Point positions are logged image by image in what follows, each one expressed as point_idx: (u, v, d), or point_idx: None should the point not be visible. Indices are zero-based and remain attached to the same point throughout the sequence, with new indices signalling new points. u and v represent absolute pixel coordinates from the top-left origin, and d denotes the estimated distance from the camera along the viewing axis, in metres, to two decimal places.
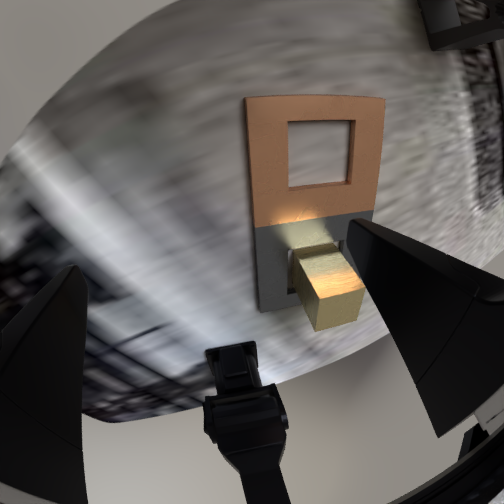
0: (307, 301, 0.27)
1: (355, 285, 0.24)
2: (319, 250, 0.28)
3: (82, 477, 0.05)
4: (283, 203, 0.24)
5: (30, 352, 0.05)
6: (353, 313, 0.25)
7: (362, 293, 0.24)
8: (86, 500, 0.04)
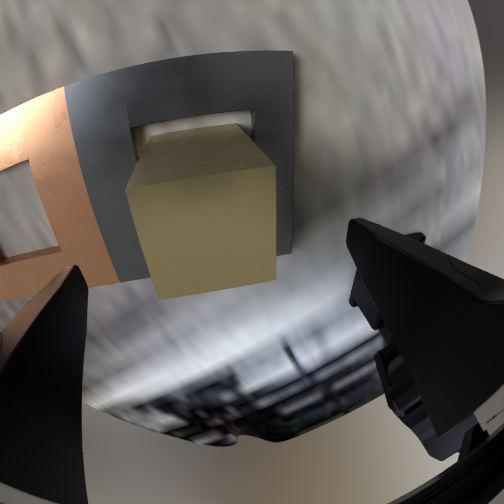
0: None
1: None
2: None
3: (82, 477, 0.05)
4: (78, 254, 0.15)
5: (30, 352, 0.05)
6: (234, 191, 0.08)
7: (148, 191, 0.08)
8: (86, 500, 0.04)
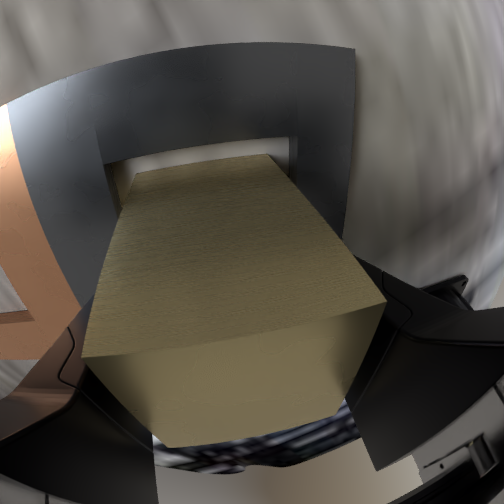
0: None
1: None
2: None
3: (152, 482, 0.05)
4: (55, 325, 0.11)
5: None
6: (305, 349, 0.04)
7: (128, 361, 0.03)
8: None
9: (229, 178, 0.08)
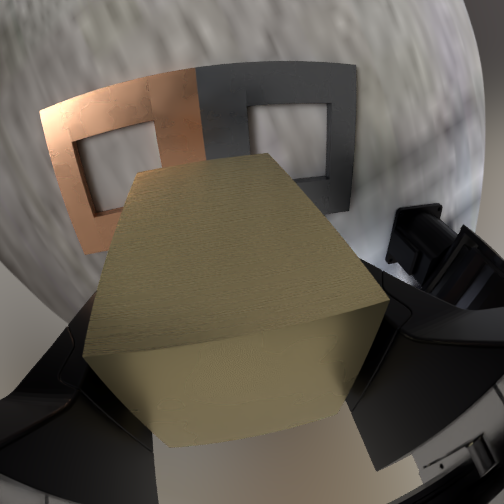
0: None
1: None
2: None
3: (152, 482, 0.05)
4: None
5: None
6: (307, 348, 0.04)
7: (130, 361, 0.03)
8: None
9: (230, 177, 0.08)
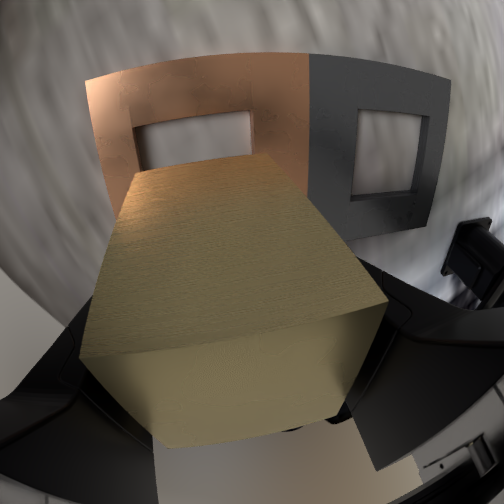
0: None
1: None
2: None
3: (151, 482, 0.05)
4: None
5: None
6: (305, 349, 0.04)
7: (127, 362, 0.03)
8: None
9: (229, 177, 0.08)
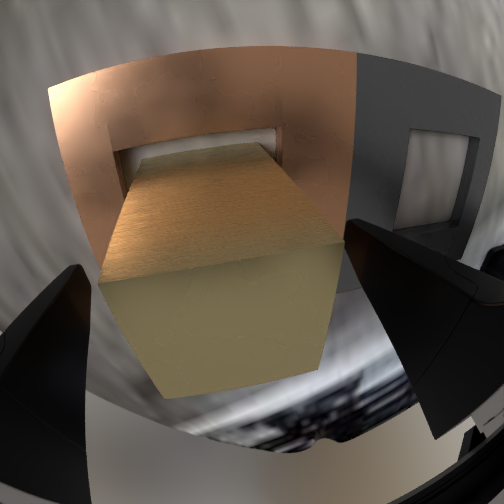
0: None
1: None
2: None
3: (85, 478, 0.05)
4: None
5: (34, 352, 0.05)
6: (278, 281, 0.05)
7: (136, 286, 0.05)
8: (90, 501, 0.05)
9: (222, 160, 0.09)
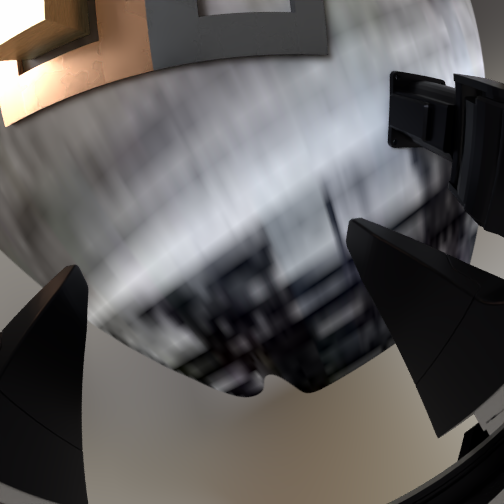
0: (37, 38, 0.08)
1: None
2: None
3: (82, 477, 0.05)
4: (116, 41, 0.12)
5: (30, 352, 0.05)
6: None
7: None
8: (86, 500, 0.04)
9: None
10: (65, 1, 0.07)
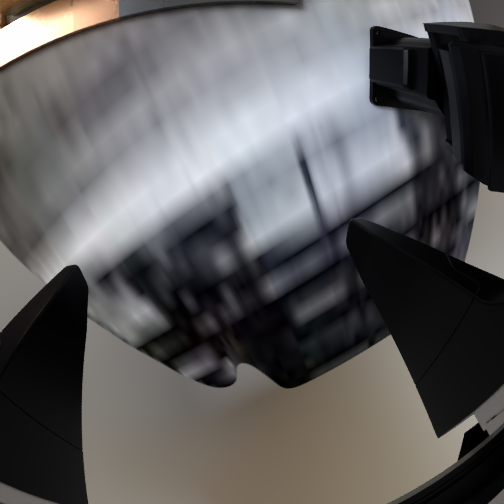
0: None
1: None
2: None
3: (82, 477, 0.05)
4: None
5: (30, 352, 0.05)
6: None
7: None
8: (86, 500, 0.04)
9: None
10: None
